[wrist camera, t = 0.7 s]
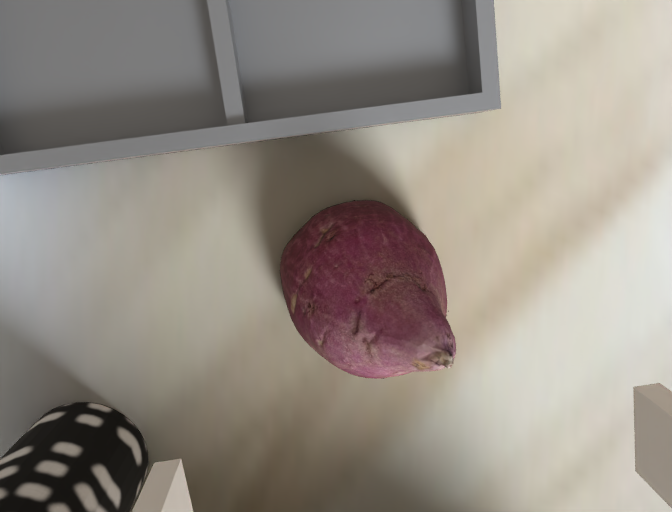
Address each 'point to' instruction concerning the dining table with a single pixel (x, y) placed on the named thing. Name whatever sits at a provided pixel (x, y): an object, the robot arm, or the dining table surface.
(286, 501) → the dining table surface
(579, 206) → the dining table surface
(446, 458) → the dining table surface
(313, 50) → the grey compartment tray
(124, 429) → the white-spotted black cylinder
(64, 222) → the dining table surface
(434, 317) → the vegetable
